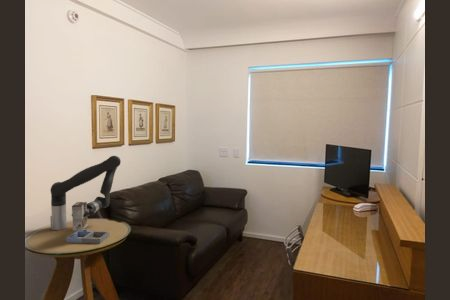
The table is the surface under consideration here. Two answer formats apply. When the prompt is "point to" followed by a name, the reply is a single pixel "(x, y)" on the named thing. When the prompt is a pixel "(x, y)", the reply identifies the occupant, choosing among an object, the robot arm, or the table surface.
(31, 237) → the table surface
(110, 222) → the table surface
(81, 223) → the coffee box
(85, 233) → the divided tray
